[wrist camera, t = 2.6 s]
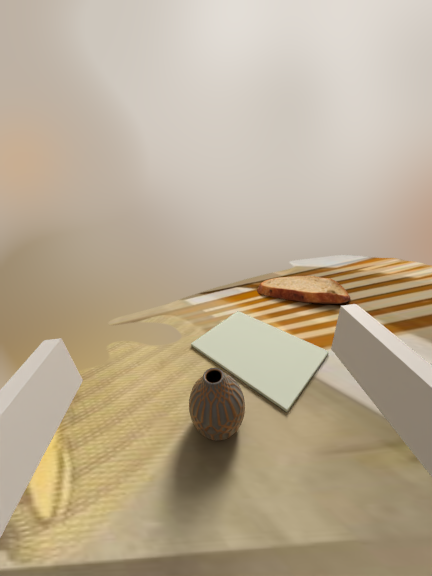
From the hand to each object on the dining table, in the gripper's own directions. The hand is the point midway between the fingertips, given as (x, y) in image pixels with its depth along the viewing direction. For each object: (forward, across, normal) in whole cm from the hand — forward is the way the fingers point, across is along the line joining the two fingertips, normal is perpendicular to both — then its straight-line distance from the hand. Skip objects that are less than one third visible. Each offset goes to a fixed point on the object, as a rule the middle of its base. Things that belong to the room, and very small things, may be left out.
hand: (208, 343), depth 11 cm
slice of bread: (+39, +24, -22) cm, 52 cm away
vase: (+10, 0, -22) cm, 24 cm away
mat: (+22, +8, -22) cm, 32 cm away
